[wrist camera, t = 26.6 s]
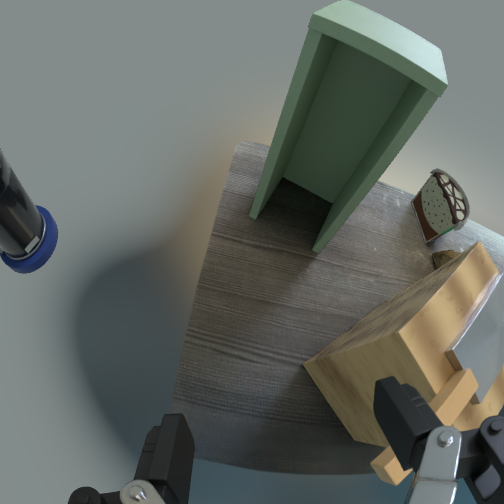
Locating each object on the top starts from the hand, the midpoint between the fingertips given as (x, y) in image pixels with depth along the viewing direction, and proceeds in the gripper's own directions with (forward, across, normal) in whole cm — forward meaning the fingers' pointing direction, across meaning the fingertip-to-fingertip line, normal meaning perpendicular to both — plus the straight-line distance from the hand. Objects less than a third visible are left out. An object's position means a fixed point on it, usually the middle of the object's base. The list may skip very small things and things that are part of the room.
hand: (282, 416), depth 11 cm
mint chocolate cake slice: (+43, -36, +3) cm, 56 cm away
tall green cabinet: (+39, -8, -3) cm, 40 cm away
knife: (+6, -16, +7) cm, 18 cm away
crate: (+24, -14, +19) cm, 34 cm away
